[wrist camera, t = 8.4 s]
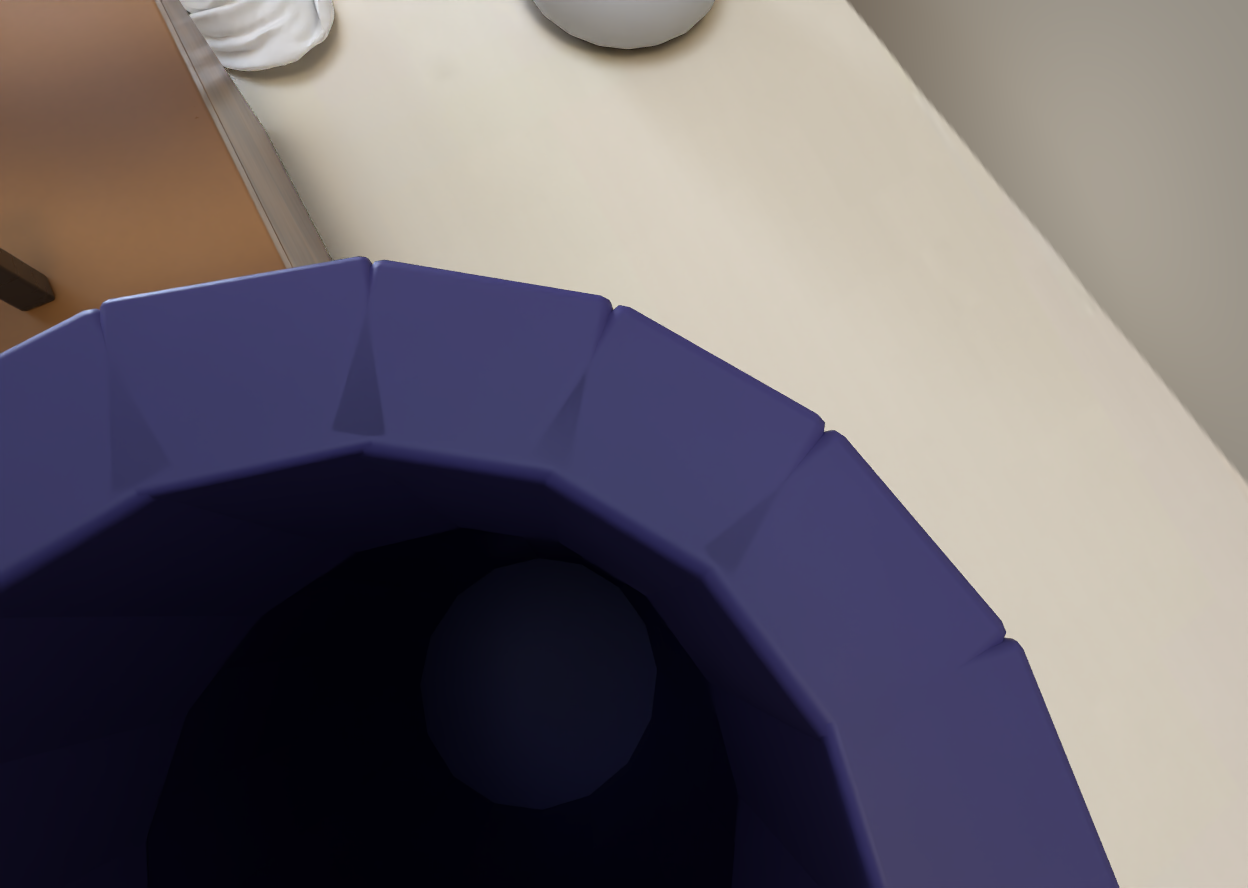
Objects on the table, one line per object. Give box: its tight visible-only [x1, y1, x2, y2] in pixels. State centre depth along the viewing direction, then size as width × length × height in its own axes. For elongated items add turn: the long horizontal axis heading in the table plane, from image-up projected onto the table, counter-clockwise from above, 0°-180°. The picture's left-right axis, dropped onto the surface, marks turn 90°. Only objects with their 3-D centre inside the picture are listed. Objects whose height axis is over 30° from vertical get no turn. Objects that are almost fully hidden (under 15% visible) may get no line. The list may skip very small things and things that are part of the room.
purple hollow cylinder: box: [0, 256, 1119, 888], centre depth 8 cm, size 6×6×13 cm
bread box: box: [160, 0, 332, 268], centre depth 19 cm, size 14×15×9 cm
